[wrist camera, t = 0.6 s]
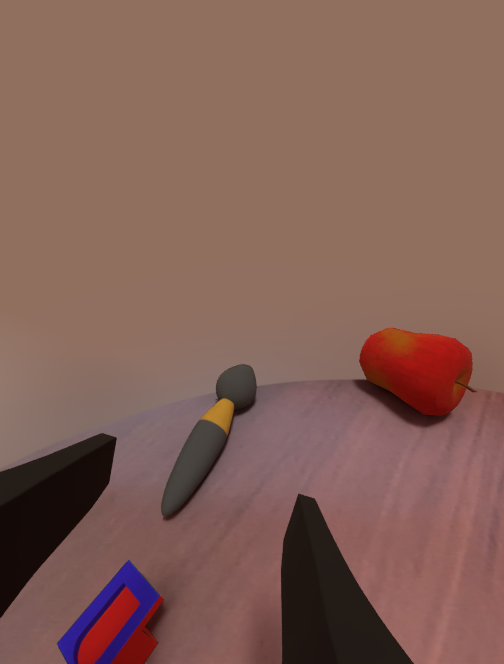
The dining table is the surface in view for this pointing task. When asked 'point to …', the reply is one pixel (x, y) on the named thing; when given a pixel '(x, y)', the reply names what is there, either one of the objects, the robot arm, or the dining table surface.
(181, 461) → the paintbrush
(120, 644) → the toy building block
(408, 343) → the apple
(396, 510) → the dining table surface
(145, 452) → the dining table surface
